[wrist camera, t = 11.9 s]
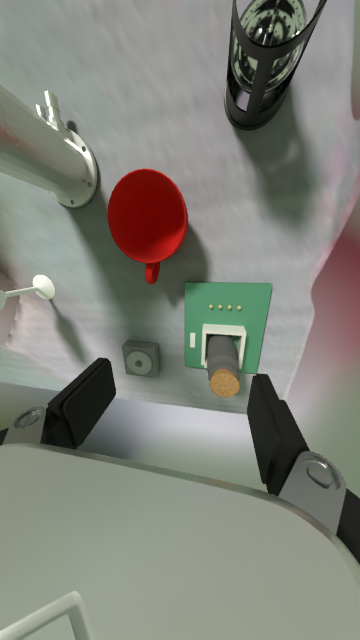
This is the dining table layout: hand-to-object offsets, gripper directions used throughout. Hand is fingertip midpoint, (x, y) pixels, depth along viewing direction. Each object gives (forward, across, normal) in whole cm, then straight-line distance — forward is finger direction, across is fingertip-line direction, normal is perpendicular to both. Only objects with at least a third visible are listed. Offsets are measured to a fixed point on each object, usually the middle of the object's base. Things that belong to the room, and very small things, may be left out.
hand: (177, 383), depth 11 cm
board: (+30, -5, +9) cm, 32 cm away
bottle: (+29, -5, +12) cm, 32 cm away
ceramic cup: (+31, +9, -11) cm, 34 cm away
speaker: (+30, +16, +19) cm, 39 cm away
